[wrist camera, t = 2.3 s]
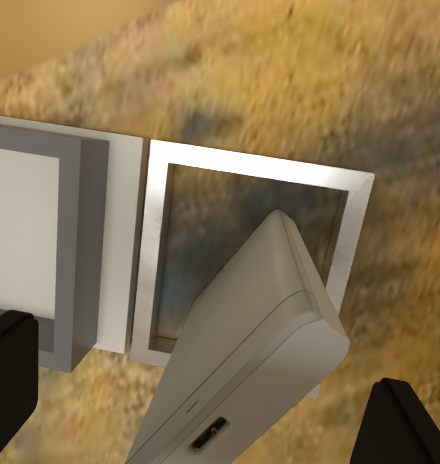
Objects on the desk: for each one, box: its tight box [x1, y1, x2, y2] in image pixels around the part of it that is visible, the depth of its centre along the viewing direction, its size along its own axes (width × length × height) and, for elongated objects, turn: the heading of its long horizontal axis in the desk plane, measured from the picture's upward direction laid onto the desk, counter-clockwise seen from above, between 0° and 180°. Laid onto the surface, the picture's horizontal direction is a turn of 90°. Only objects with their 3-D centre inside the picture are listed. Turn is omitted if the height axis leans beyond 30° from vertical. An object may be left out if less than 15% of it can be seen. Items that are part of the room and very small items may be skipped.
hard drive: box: [125, 209, 350, 464], centre depth 14 cm, size 2×8×12 cm, turn 142°
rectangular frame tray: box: [130, 139, 375, 399], centre depth 20 cm, size 11×13×2 cm
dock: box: [0, 116, 149, 373], centre depth 19 cm, size 13×13×4 cm
